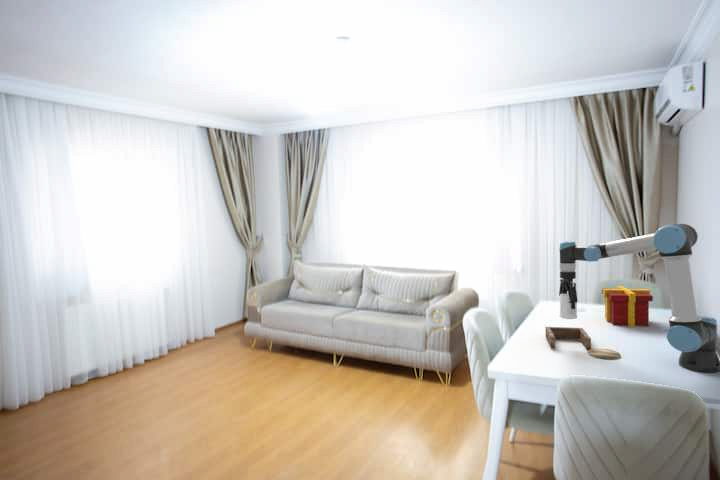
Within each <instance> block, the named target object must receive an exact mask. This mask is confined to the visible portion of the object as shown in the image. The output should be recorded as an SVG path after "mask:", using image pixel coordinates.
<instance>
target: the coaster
mask: <svg viewBox="0 0 720 480" xmlns="http://www.w3.org/2000/svg"><path fill="white" fill-rule="evenodd" d="M587 354H588V356H590V357H593V358H595V359H600V360H617V359H620V358H621V353H619V352H618V351H616V350H613V349H609V348H601V347H600V348H591V349H590V350H587Z"/></svg>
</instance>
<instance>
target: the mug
mask: <svg viewBox="0 0 720 480" xmlns="http://www.w3.org/2000/svg"><path fill="white" fill-rule="evenodd" d="M569 302H570V298H569V294H568V292H567V294H564V293H563V294H560V296H559V317H560V318H561V319H563V320H564V319H566V320H575V319H578V314H577V313H578V310H577V309H578V304H577V303H578V302H576V303H575V315H570V313H569Z"/></svg>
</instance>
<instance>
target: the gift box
mask: <svg viewBox="0 0 720 480" xmlns="http://www.w3.org/2000/svg"><path fill="white" fill-rule="evenodd" d="M616 287H617V288H602V289H601V294H602V296H603V298H605V299H604V300H605V301H604V302H605V303H604V304H605V305H604V308H605V309H604V310H605V312H604V313H605V314H604V317H605V321H606V323H610V324H611V325H613V326H620V327H621V326H624V327H632V328H634V327H649V326H650V325H649V324H650V323H649V317H650V316H649V315H650V314H649V313H650V312H649V311H650V306H649V302H653V299H654V296H653V295H651V290H650V289H644V288H643V289H641V288H640V289H639V288H626V287H625V286H623V285H617V286H616Z"/></svg>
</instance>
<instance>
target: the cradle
mask: <svg viewBox="0 0 720 480" xmlns="http://www.w3.org/2000/svg"><path fill="white" fill-rule="evenodd" d="M546 338H547V339H546ZM555 338H562V339H561V340H579V341H580V342H581V344H582V345H583V347H584V348H585V350H586V351H588V350H590V349H592V338H591V337H590V336H589V334H588V333H587V332H586V330H585V329H584V328H583V327H564V326H545V339H546V341H547V340H548V341H547V343H548V346H549V347H551V348H550V349H552V348H555V349H556V339H555Z"/></svg>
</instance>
